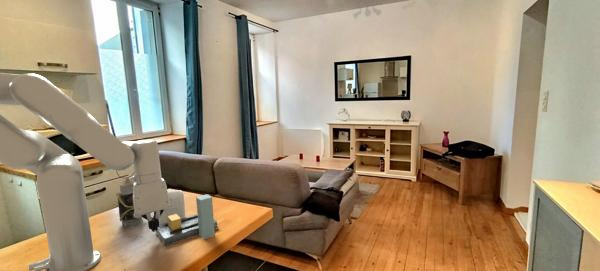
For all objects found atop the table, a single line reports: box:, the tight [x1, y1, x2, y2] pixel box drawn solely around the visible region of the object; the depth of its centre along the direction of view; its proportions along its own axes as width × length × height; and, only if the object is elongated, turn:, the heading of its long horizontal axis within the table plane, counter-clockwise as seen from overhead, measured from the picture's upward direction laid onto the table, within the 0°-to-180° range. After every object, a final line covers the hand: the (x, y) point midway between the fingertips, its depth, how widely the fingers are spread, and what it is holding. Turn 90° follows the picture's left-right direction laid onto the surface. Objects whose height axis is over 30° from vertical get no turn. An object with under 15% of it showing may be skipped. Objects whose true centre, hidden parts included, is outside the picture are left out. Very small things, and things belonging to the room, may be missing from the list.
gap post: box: [195, 193, 216, 240], centre depth 96 cm, size 4×4×14 cm
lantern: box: [115, 170, 143, 228], centre depth 105 cm, size 9×8×25 cm
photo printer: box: [159, 189, 186, 225], centre depth 108 cm, size 10×4×12 cm, turn 123°
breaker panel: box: [155, 213, 219, 247], centre depth 100 cm, size 18×12×3 cm, turn 130°
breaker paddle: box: [168, 214, 182, 230], centre depth 97 cm, size 3×5×4 cm, turn 40°
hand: (154, 229), depth 93 cm, fingers closed
